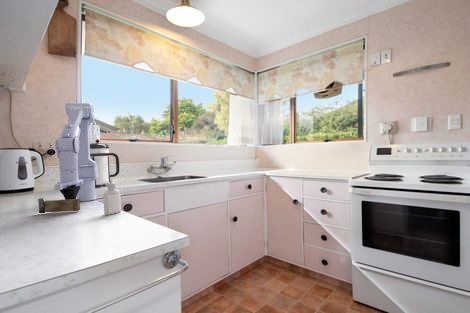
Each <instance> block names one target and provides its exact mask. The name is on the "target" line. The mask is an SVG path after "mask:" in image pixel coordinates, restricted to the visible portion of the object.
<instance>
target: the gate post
mask: <svg viewBox="0 0 470 313" xmlns="http://www.w3.org/2000/svg"><path fill="white" fill-rule="evenodd" d="M37 201H38V212H39V213H45V204H44V201H46V197H41V198H38V199H37Z"/></svg>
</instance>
